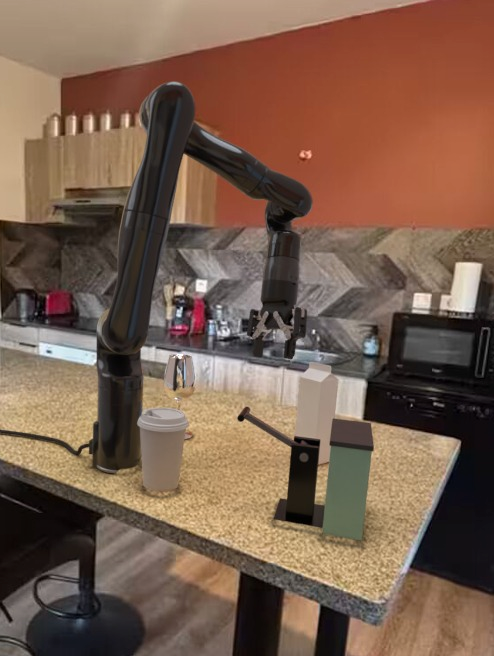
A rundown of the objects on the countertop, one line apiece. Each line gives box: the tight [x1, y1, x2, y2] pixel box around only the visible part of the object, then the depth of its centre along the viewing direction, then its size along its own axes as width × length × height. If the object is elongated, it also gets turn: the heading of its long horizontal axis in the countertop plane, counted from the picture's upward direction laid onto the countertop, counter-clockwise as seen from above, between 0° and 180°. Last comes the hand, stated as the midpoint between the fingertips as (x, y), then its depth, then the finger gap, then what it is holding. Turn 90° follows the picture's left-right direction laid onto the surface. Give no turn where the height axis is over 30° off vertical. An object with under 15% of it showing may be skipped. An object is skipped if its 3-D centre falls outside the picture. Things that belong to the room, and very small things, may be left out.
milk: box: [294, 361, 340, 466], centre depth 122 cm, size 6×6×22 cm
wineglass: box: [162, 353, 196, 440], centre depth 136 cm, size 8×8×20 cm
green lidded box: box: [321, 418, 375, 541], centre depth 91 cm, size 6×13×17 cm, turn 163°
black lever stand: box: [273, 435, 325, 529], centre depth 94 cm, size 8×9×14 cm
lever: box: [236, 406, 310, 448], centre depth 94 cm, size 14×6×2 cm, turn 73°
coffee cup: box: [137, 407, 190, 492], centre depth 103 cm, size 10×10×15 cm
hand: (272, 358), depth 116 cm, fingers open, 8 cm apart
